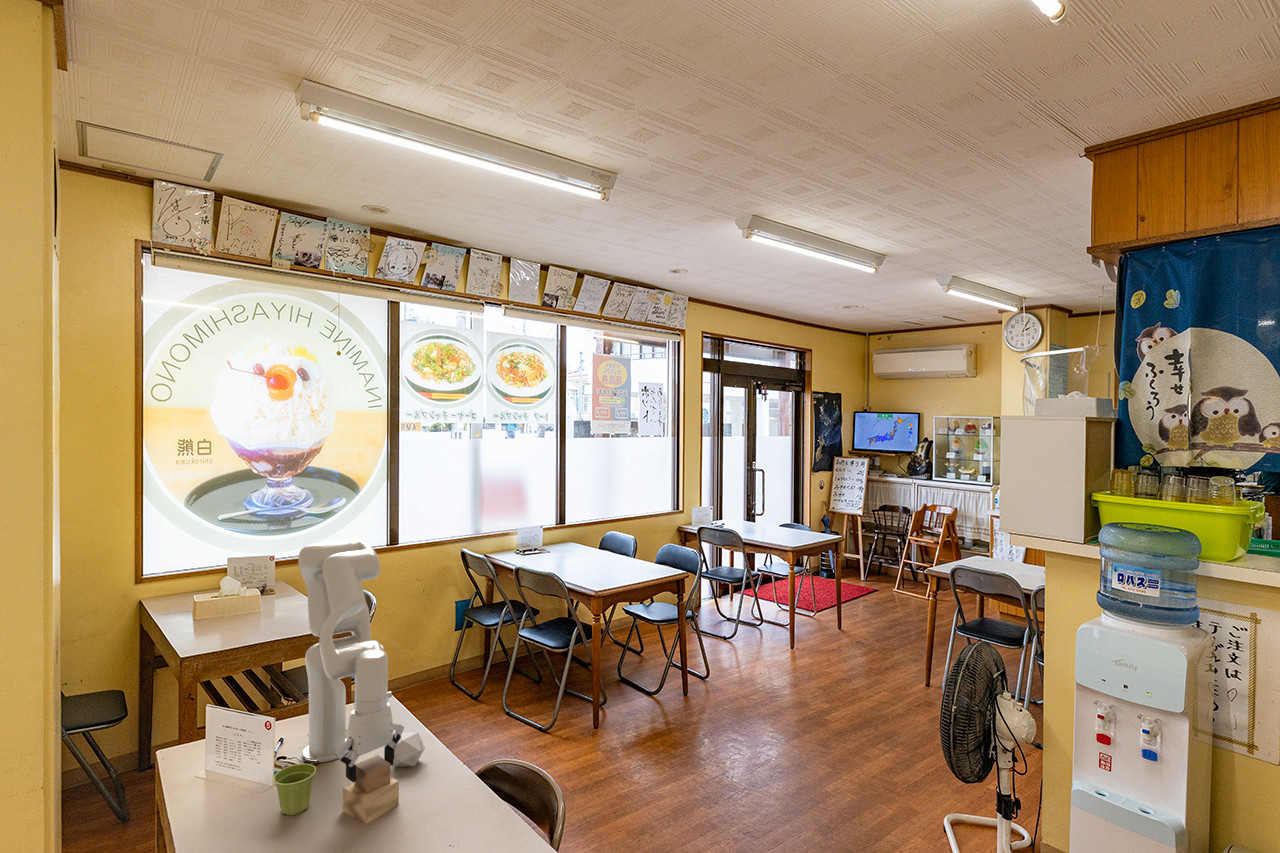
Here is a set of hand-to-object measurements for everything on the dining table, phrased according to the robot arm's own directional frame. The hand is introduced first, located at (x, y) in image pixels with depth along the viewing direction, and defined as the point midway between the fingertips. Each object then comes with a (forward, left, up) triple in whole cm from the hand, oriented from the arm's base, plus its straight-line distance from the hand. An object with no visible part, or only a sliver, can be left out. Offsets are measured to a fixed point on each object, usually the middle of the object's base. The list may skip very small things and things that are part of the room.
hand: (370, 771), depth 162 cm
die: (-12, +17, -9) cm, 22 cm away
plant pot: (-14, -12, -9) cm, 20 cm away
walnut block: (0, 0, -3) cm, 3 cm away
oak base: (0, 0, -9) cm, 9 cm away
